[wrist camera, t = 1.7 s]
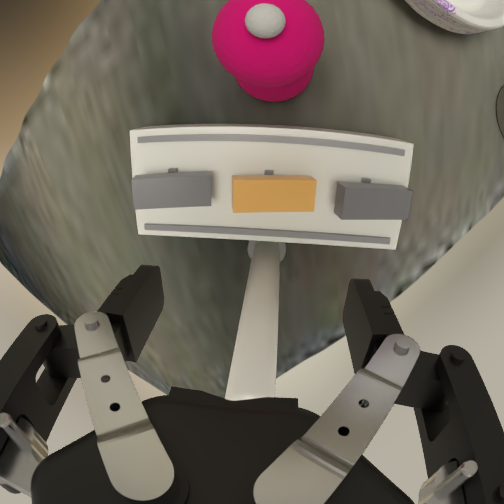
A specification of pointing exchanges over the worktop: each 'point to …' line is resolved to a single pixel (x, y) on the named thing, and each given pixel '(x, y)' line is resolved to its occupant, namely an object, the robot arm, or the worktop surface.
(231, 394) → the post
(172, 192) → the paddle
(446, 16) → the paper bowls
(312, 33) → the pepper mill
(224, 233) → the breaker panel
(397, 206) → the paddle
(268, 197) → the block
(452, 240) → the worktop surface
